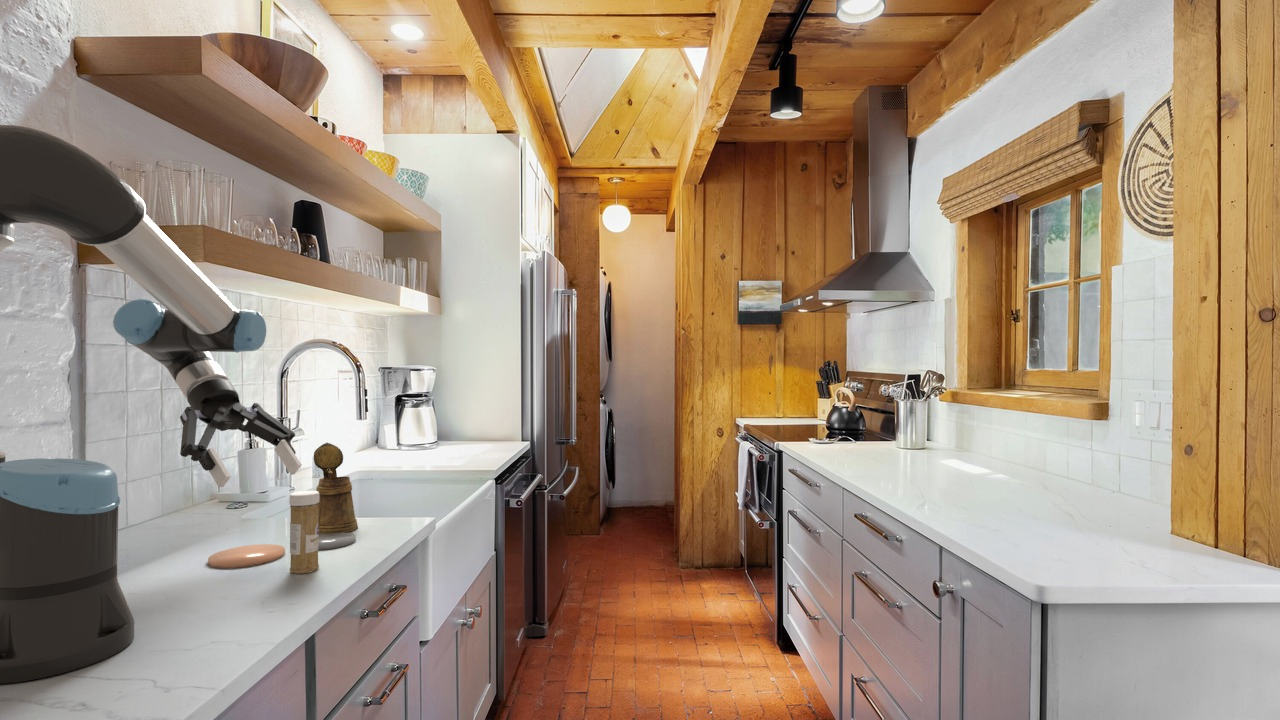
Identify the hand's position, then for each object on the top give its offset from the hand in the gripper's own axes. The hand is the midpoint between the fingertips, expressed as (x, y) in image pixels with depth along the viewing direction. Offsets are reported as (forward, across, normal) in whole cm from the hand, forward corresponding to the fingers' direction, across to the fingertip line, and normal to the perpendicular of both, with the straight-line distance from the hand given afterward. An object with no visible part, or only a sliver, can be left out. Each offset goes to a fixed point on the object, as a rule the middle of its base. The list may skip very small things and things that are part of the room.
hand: (262, 475), depth 113 cm
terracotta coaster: (+7, -1, -15) cm, 16 cm away
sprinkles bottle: (+19, 0, -4) cm, 19 cm away
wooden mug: (+5, -23, -18) cm, 29 cm away
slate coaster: (+11, -14, -11) cm, 21 cm away
